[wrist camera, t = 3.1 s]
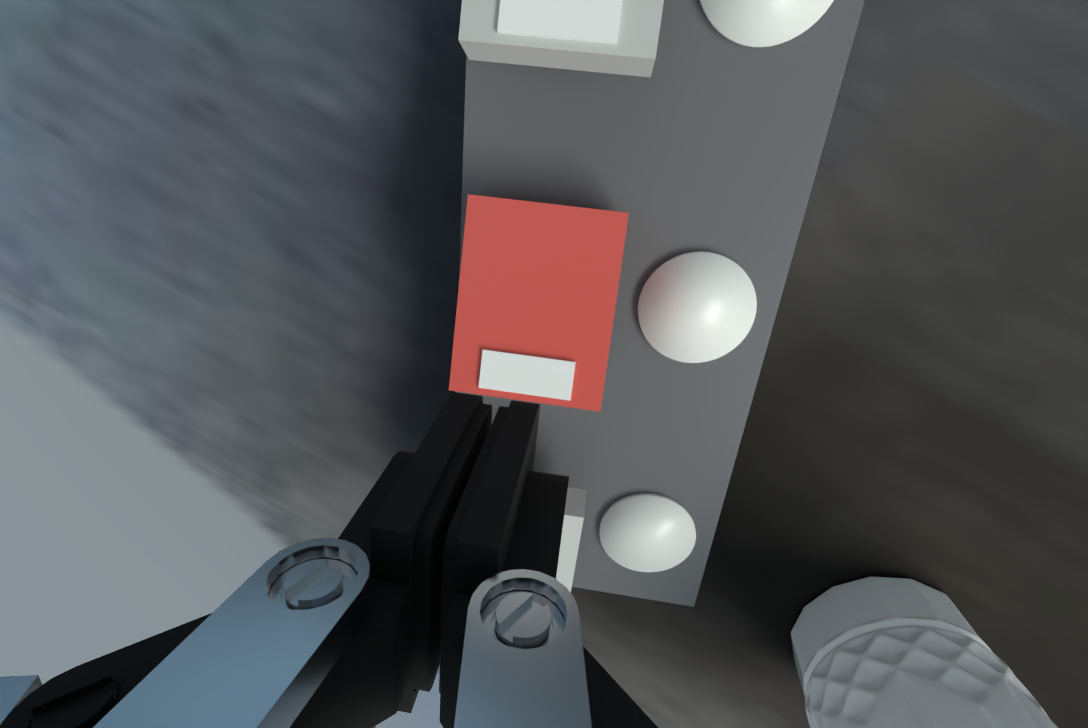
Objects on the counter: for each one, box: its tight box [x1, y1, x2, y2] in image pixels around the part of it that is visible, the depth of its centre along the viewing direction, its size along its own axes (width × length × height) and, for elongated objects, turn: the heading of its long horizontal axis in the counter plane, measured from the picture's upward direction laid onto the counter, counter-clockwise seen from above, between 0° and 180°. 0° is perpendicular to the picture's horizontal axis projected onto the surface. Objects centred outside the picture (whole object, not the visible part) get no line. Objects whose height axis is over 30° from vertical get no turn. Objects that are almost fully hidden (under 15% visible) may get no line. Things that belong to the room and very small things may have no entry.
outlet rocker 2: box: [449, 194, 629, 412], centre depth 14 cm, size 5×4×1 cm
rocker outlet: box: [556, 487, 587, 593], centre depth 18 cm, size 5×4×1 cm
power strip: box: [455, 0, 865, 607], centre depth 16 cm, size 26×9×4 cm, turn 175°
